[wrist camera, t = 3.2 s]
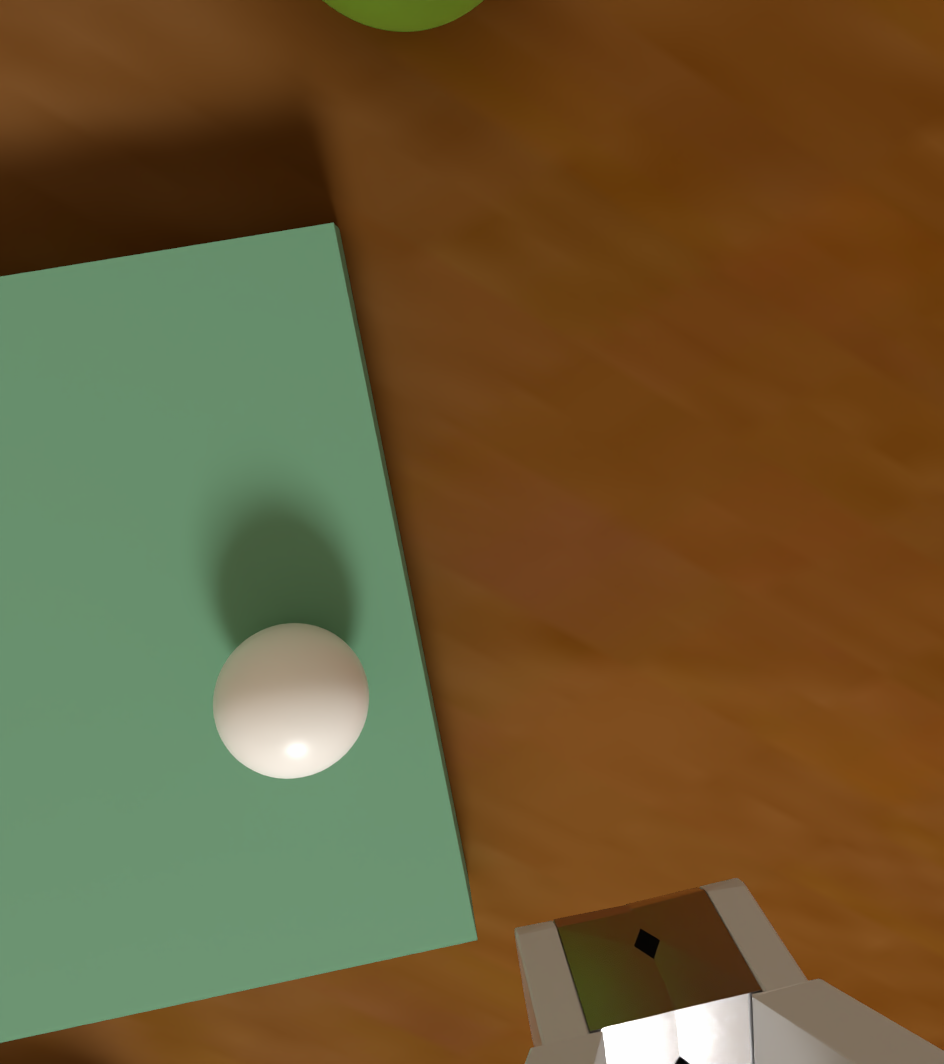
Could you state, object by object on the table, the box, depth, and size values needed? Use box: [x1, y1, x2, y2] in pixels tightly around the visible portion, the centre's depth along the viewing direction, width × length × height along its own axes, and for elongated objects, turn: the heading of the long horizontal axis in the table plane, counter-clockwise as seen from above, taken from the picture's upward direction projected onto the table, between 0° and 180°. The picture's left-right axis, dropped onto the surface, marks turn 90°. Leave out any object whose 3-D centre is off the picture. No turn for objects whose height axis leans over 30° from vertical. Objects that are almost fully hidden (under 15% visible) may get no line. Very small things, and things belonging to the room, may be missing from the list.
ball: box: [213, 623, 369, 779], centre depth 18 cm, size 4×4×4 cm
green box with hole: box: [0, 223, 477, 1043], centre depth 19 cm, size 20×20×6 cm
